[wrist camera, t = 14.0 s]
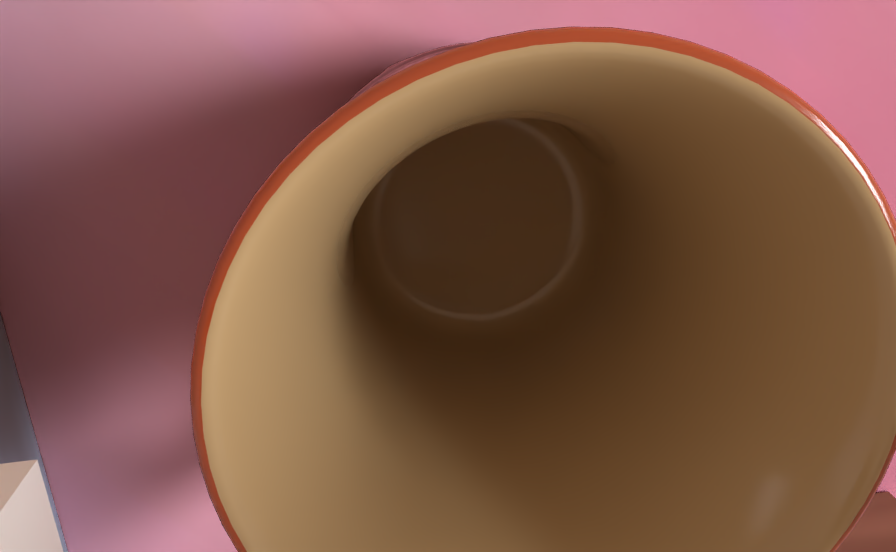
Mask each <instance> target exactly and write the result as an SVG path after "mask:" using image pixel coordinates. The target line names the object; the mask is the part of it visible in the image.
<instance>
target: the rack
mask: <svg viewBox="0 0 896 552" xmlns="http://www.w3.org/2000/svg"><path fill="white" fill-rule="evenodd" d="M29 460H38V464H39V467H40V471H41V474H42V478H43V481H44V485H45V488H46V492H47V495H48V499H49V502H50V506H51V509H52V513H53V516H54V520H55V523H56V527H57V530H58V534H59V538H60V541H61V545H62V548H63V552H68V550H67V546H66V543H65V539H64V536H63V532H62V529H61V525H60V521H59V518H58V514H57V511H56V507H55V504H54V500H53V497H52V493H51V490H50V486H49V483H48V479H47V476H46V472H45V469H44V465H43V462H42V458H41V455H40V451H39V448H38V444H37V440H36V437H35V433H34V430H33V426H32V423H31V419H30V416H29V412H28V409H27V405H26V402H25V398H24V395H23V391H22V388H21V384H20V381H19V377H18V374H17V370H16V367H15V363H14V360H13V356H12V352H11V349H10V345H9V342H8V338H7V335H6V331H5V328H4V324H3V321H2V317H1V314H0V464H4V463H12V462H20V461H29ZM835 552H896V499H895V498H894V497H893V496H892V495H891V494H890V493H889V492H881V493H875V495H874V496H873V498H872V500H871V502H870V504H869V505H868V507H867V508H866V510H865V511H864V513H863V514H862V516H861V518H860V519H859V521H858V522H857V524H856V525H855V527H854V528H853V530H852V531H851V532H850V534H849V535H848V536H847V537H846V539H845V540H844V541H843V542H842V544H841V545H840V546H839V547H838V549H837V550H836V551H835Z"/></svg>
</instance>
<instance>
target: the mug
mask: <svg viewBox="0 0 896 552" xmlns="http://www.w3.org/2000/svg"><path fill="white" fill-rule="evenodd" d="M190 401H191V413H192V424H193V435H194V440H195V445H196V450H197V455H198V460H199V465H200V468H201V471H202V474H203V478H204V481H205V484H206V487H207V490H208V493H209V496H210V499H211V501H212V503H213V505H214V508H215V510H216V512H217V514H218V516H219V519H220V521H221V523H222V525H223V527H224V529H225V531H226V532H227V534H228V536H229V537H230V539H231V541H232V543H233V544H234V546H235V548H236V549H237V551H238V552H835V551H836V550H837V549H838V547H839V546H840V545H841V544H842V542H843V541H844V540H845V539H846V537H847V536H848V535H849V534H850V532H851V531H852V530H853V528H854V527H855V525H856V524H857V522H858V521H859V519H860V518H861V516H862V514H863V513H864V511H865V510H866V508H867V507H868V505H869V504H870V502H871V500H872V498H873V496H874V495H875V493H876V491H877V489H878V487H879V485H880V484H881V482H882V480H883V478H884V476H885V474H886V472H887V469H888V467H889V465H890V462H891V460H892V458H893V455H894V453H895V451H896V220H895V217H894V215H893V213H892V211H891V209H890V206H889V204H888V202H887V200H886V198H885V196H884V194H883V192H882V191H881V189H880V187H879V186H878V184H877V182H876V181H875V179H874V177H873V176H872V174H871V172H870V171H869V169H868V167H867V166H866V165H865V163H864V162H863V161H862V160H861V158H860V157H859V156H858V154H857V153H856V152H855V151H854V149H853V148H852V147H851V145H850V144H849V143H848V142H847V140H846V139H845V138H844V137H843V136H842V135H841V134H840V133H839V132H838V131H837V130H836V129H835V128H834V127H833V126H832V125H831V124H830V123H829V122H828V121H827V120H826V119H825V118H824V117H823V116H822V115H821V114H820V113H819V112H818V111H816V110H815V109H814V108H813V107H811V106H810V105H809V104H808V103H806V102H805V101H804V100H803V99H802V98H800V97H799V96H798V95H797V94H795V93H794V92H793V91H792V90H790V89H789V88H787V87H785V86H784V85H782V84H781V83H779V82H777V81H776V80H774V79H773V78H771V77H770V76H768V75H766V74H765V73H763V72H762V71H760V70H758V69H756V68H754V67H752V66H750V65H748V64H746V63H744V62H741V61H739V60H737V59H735V58H733V57H731V56H729V55H727V54H724V53H722V52H719V51H716V50H713V49H710V48H707V47H705V46H702V45H699V44H696V43H693V42H691V41H687V40H682V39H678V38H674V37H669V36H665V35H661V34H657V33H652V32H645V31H637V30H629V29H621V28H613V27H562V28H550V29H538V30H528V31H523V32H518V33H513V34H507V35H502V36H497V37H492V38H487V39H484V40H481V41H477V42H471V43H460V44H455V45H449V46H444V47H440V48H436V49H433V50H430V51H426V52H423V53H421V54H418V55H416V56H413V57H410V58H407V59H405V60H402V61H400V62H397V63H395V64H393V65H391V66H389V67H388V68H386V69H385V70H384V71H383V72H382V73H381V74H380V75H378V76H377V77H375V78H374V79H372V80H371V81H370V82H369V83H368V84H366V85H365V86H364V87H363V88H362V89H360V90H359V91H358V92H357V93H356V94H355V95H354V96H353V97H352V98H351V99H350V100H349V101H348V102H347V103H346V104H345V105H344V106H342V107H341V108H339V109H338V110H337V111H336V112H334V113H333V114H332V115H331V116H330V117H328V118H327V119H326V120H325V121H324V122H322V123H321V124H320V125H319V126H318V127H316V128H315V129H314V130H313V131H311V132H310V133H309V134H308V135H307V136H306V137H305V138H304V139H303V140H302V141H301V142H300V143H299V144H298V145H297V146H296V147H295V148H294V149H293V150H292V151H291V152H290V153H289V154H288V155H287V156H286V157H285V158H284V159H283V160H282V161H281V162H280V163H279V165H278V166H277V167H276V168H275V170H274V171H273V172H272V173H271V175H270V176H269V177H268V178H267V180H266V181H265V182H264V183H263V185H262V186H261V187H260V188H259V190H258V191H257V192H256V193H255V195H254V196H253V198H252V200H251V201H250V203H249V204H248V206H247V207H246V209H245V211H244V212H243V214H242V215H241V217H240V218H239V220H238V221H237V223H236V225H235V226H234V228H233V230H232V232H231V234H230V236H229V238H228V240H227V242H226V244H225V246H224V248H223V250H222V252H221V254H220V256H219V258H218V260H217V263H216V266H215V268H214V271H213V274H212V276H211V279H210V282H209V284H208V287H207V290H206V292H205V296H204V299H203V303H202V307H201V311H200V315H199V319H198V323H197V327H196V333H195V340H194V347H193V355H192V362H191V394H190Z"/></svg>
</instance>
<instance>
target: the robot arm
mask: <svg viewBox="0 0 896 552" xmlns="http://www.w3.org/2000/svg"><path fill="white" fill-rule="evenodd" d="M0 552H63V548H62V545H61V541H60V538H59V534H58V530H57V527H56V523H55V520H54V516H53V513H52V509H51V506H50V502H49V499H48V495H47V492H46V488H45V485H44V481H43V478H42V474H41V471H40V467H39V464H38V460H29V461H20V462H12V463H4V464H0Z"/></svg>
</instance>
